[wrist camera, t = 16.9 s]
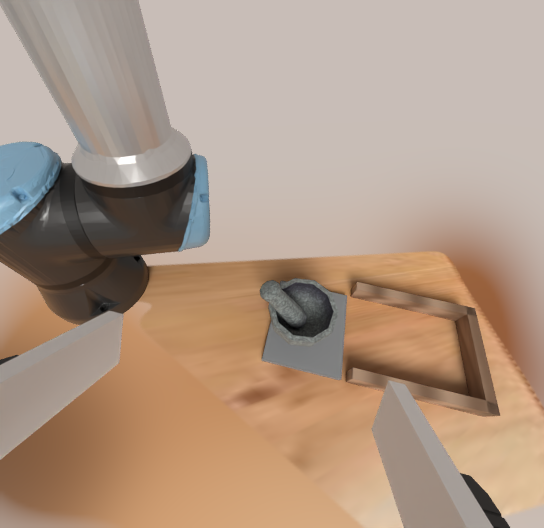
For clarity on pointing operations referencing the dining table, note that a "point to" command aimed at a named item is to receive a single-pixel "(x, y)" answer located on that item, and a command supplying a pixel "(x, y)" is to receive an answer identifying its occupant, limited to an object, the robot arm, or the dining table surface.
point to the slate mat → (311, 348)
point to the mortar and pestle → (300, 310)
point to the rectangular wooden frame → (470, 344)
